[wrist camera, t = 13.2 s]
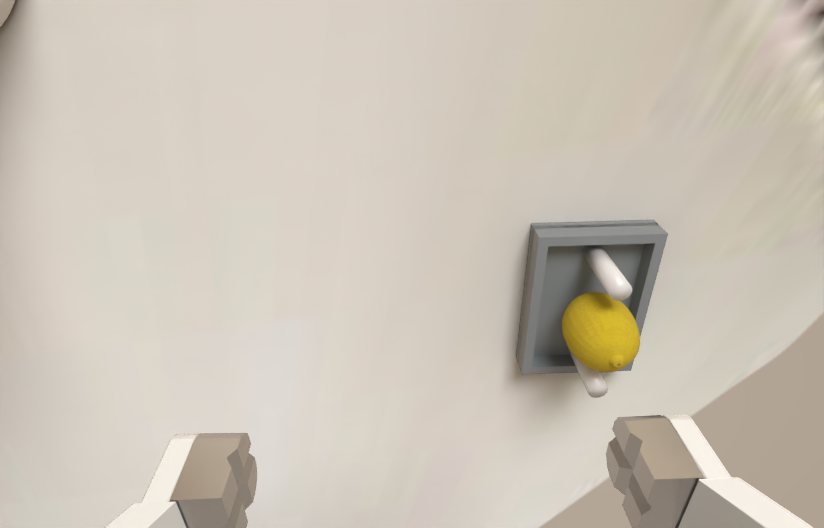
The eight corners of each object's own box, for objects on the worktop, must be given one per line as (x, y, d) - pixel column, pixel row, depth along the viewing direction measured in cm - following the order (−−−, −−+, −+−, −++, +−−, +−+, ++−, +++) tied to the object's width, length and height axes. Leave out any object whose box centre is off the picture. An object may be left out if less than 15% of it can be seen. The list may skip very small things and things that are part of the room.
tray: (531, 223, 41) (555, 267, 35) (653, 219, 41) (698, 263, 35) (516, 356, 48) (533, 411, 42) (620, 352, 48) (652, 407, 42)
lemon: (545, 326, 45) (573, 391, 38) (558, 273, 42) (591, 334, 35) (605, 327, 45) (644, 392, 38) (622, 275, 42) (667, 335, 36)
